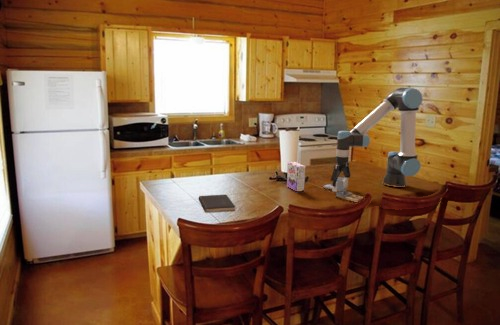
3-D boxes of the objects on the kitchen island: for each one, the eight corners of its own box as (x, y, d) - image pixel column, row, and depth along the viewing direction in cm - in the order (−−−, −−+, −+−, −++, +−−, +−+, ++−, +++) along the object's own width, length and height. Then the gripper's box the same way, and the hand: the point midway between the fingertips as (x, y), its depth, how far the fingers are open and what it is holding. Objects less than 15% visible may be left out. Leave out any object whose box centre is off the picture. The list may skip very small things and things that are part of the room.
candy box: (286, 186, 258) (287, 161, 254) (294, 186, 260) (295, 161, 257) (296, 192, 245) (297, 166, 242) (304, 192, 247) (306, 165, 244)
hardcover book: (226, 198, 232) (226, 194, 231) (235, 210, 210) (235, 206, 209) (198, 199, 227) (198, 195, 227) (205, 212, 206) (205, 208, 205)
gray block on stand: (341, 195, 242) (343, 177, 239) (352, 197, 237) (353, 179, 235) (335, 197, 236) (337, 179, 234) (346, 200, 232) (347, 181, 230)
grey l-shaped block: (328, 187, 260) (329, 175, 258) (346, 191, 251) (347, 179, 249) (323, 189, 255) (323, 176, 253) (341, 193, 246) (342, 180, 245)
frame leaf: (353, 197, 238) (353, 193, 237) (363, 200, 233) (364, 196, 233) (345, 200, 231) (345, 196, 231) (356, 203, 227) (357, 199, 226)
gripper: (346, 152, 258) (344, 184, 262) (326, 157, 239) (324, 191, 244) (357, 154, 253) (354, 187, 257) (337, 159, 235) (335, 194, 239)
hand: (339, 189), depth 250 cm, fingers open, 13 cm apart
